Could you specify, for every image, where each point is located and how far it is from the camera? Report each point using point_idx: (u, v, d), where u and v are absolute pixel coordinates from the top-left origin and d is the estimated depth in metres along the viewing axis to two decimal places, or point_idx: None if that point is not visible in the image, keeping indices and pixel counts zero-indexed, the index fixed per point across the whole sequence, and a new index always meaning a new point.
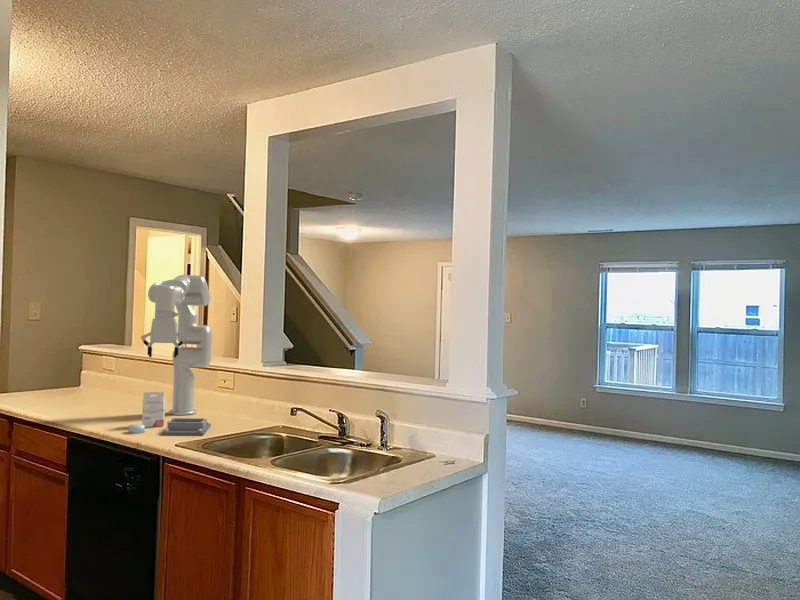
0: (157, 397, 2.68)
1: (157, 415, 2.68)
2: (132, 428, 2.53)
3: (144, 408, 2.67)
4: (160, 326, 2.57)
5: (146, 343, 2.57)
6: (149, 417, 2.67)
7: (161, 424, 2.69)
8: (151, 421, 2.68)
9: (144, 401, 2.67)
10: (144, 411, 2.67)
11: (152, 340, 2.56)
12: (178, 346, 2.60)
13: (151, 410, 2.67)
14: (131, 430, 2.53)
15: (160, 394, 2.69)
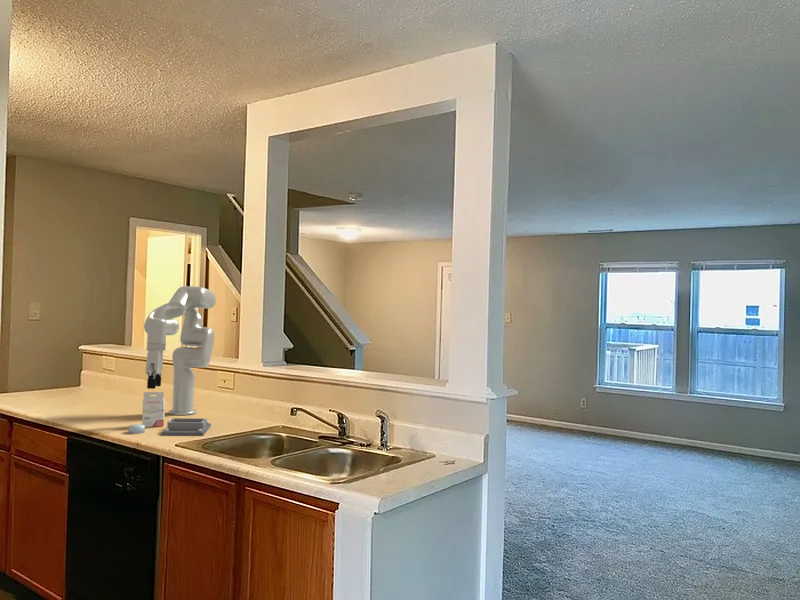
0: (157, 397, 2.69)
1: (157, 415, 2.68)
2: (132, 428, 2.53)
3: (144, 408, 2.67)
4: (160, 357, 2.69)
5: (152, 375, 2.64)
6: (149, 417, 2.67)
7: (161, 424, 2.69)
8: (151, 421, 2.68)
9: (144, 401, 2.67)
10: (144, 411, 2.67)
11: (157, 372, 2.66)
12: (160, 375, 2.76)
13: (151, 410, 2.67)
14: (131, 430, 2.53)
15: (160, 394, 2.69)
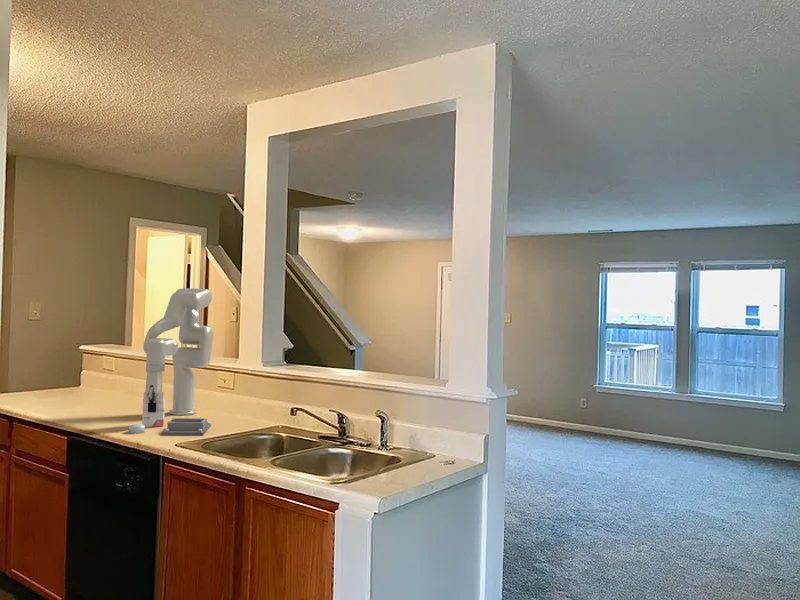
0: (157, 397, 2.68)
1: (157, 415, 2.68)
2: (132, 428, 2.53)
3: (144, 408, 2.67)
4: (160, 379, 2.69)
5: (153, 399, 2.66)
6: (149, 417, 2.67)
7: (161, 424, 2.69)
8: (151, 421, 2.68)
9: (144, 401, 2.67)
10: (144, 411, 2.67)
11: (156, 393, 2.66)
12: None
13: None
14: (131, 430, 2.53)
15: (160, 394, 2.69)
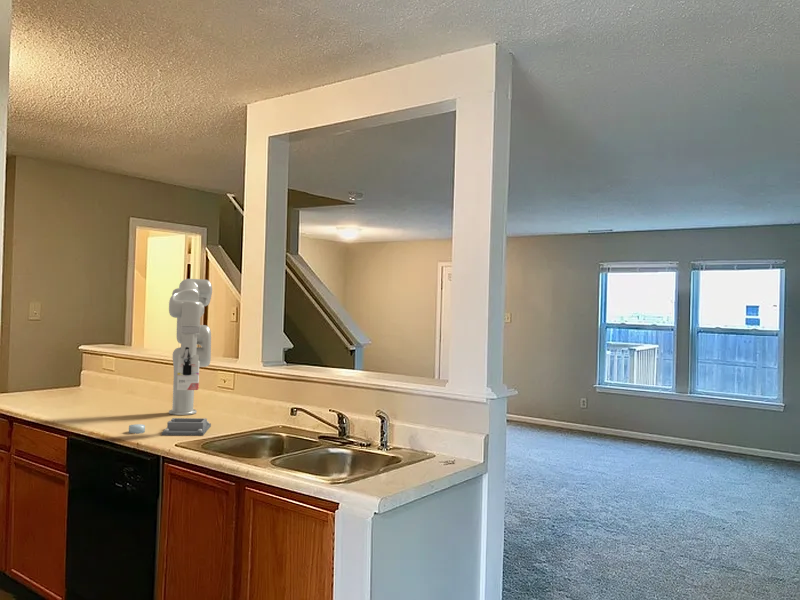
0: (192, 359, 2.61)
1: (192, 378, 2.61)
2: (132, 428, 2.53)
3: (179, 371, 2.60)
4: (195, 341, 2.62)
5: (188, 362, 2.58)
6: (184, 380, 2.60)
7: (196, 387, 2.61)
8: (186, 384, 2.60)
9: (179, 363, 2.60)
10: (179, 374, 2.60)
11: (192, 356, 2.59)
12: None
13: None
14: (131, 430, 2.53)
15: (195, 357, 2.61)
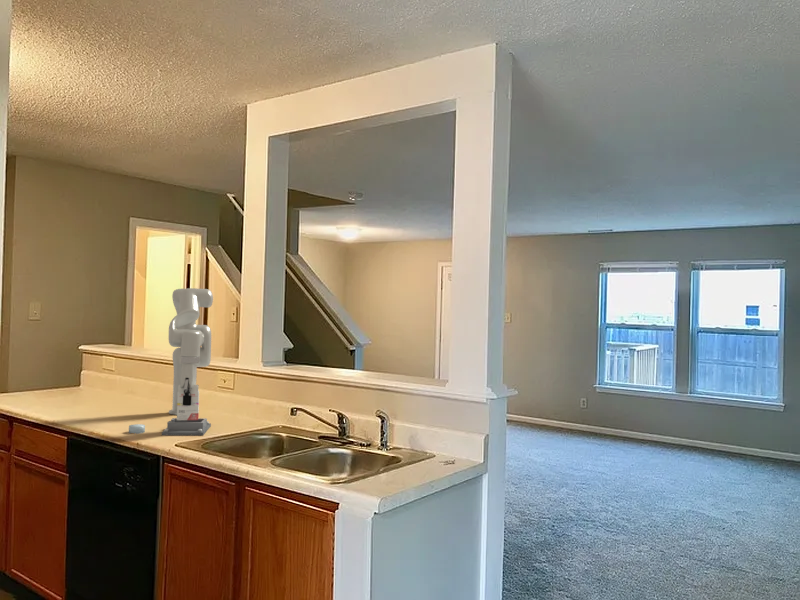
0: (192, 389, 2.61)
1: (192, 408, 2.60)
2: (132, 428, 2.53)
3: (179, 401, 2.59)
4: (195, 371, 2.62)
5: (188, 392, 2.58)
6: (184, 410, 2.60)
7: (196, 418, 2.61)
8: (186, 414, 2.60)
9: (179, 394, 2.59)
10: (179, 404, 2.59)
11: (192, 386, 2.59)
12: None
13: None
14: (131, 430, 2.53)
15: (195, 387, 2.61)
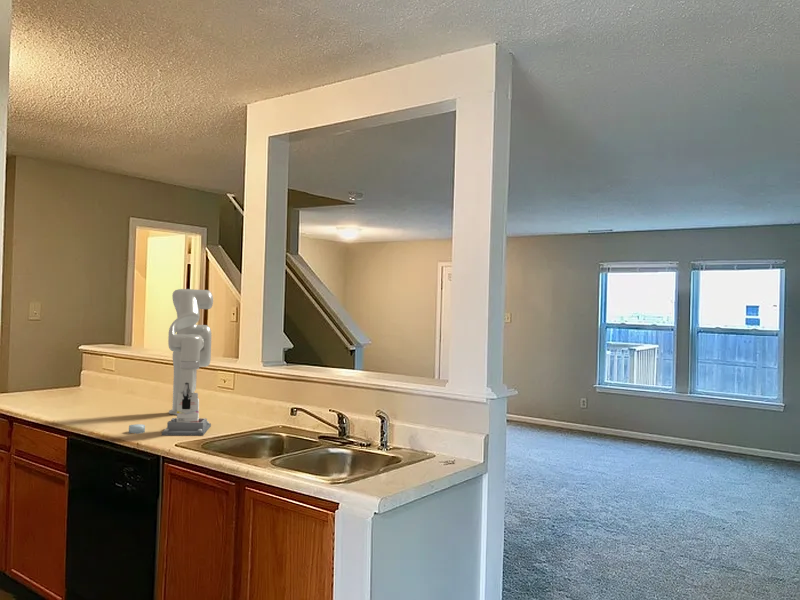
0: (191, 398, 2.61)
1: (191, 416, 2.61)
2: (132, 428, 2.53)
3: (178, 409, 2.60)
4: (195, 376, 2.62)
5: (187, 396, 2.57)
6: (183, 418, 2.60)
7: None
8: None
9: (178, 402, 2.60)
10: (178, 412, 2.60)
11: (191, 391, 2.59)
12: None
13: (185, 411, 2.61)
14: (131, 430, 2.53)
15: (194, 395, 2.62)
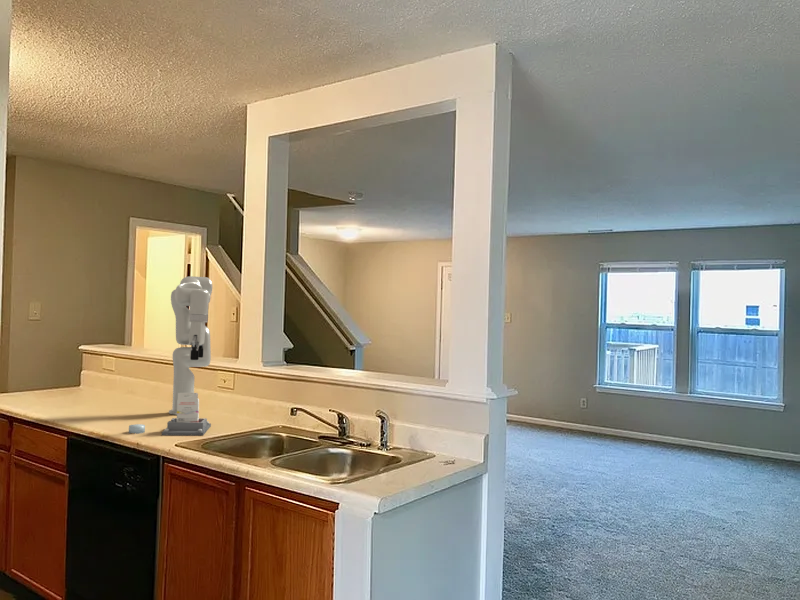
0: (191, 398, 2.61)
1: (191, 416, 2.61)
2: (132, 428, 2.53)
3: (178, 409, 2.60)
4: (203, 329, 2.68)
5: (196, 347, 2.62)
6: (183, 418, 2.60)
7: None
8: None
9: (178, 402, 2.60)
10: (178, 412, 2.60)
11: (200, 343, 2.65)
12: (202, 346, 2.75)
13: (185, 411, 2.61)
14: (131, 430, 2.53)
15: (194, 395, 2.62)
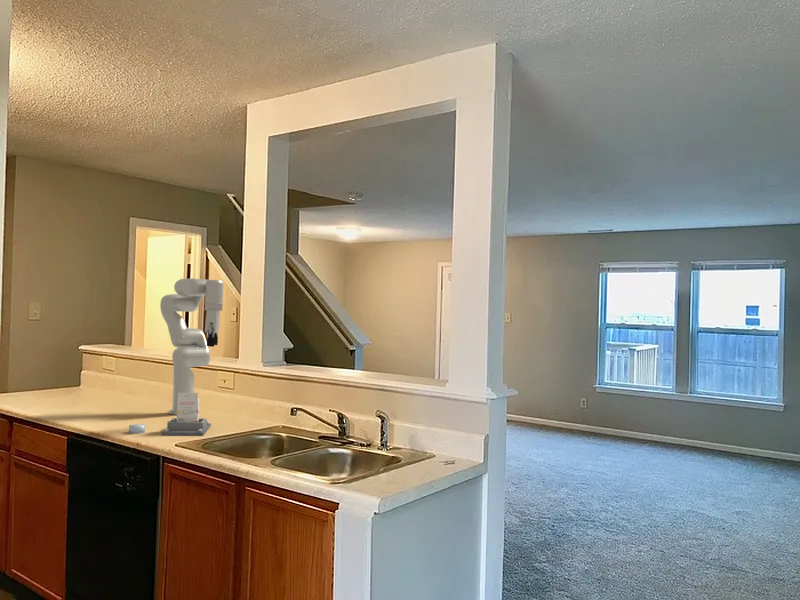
0: (191, 398, 2.61)
1: (191, 416, 2.61)
2: (132, 428, 2.53)
3: (178, 409, 2.60)
4: (218, 317, 2.81)
5: (212, 334, 2.75)
6: (183, 418, 2.60)
7: None
8: None
9: (178, 402, 2.60)
10: (178, 412, 2.60)
11: (215, 330, 2.78)
12: (217, 335, 2.88)
13: (185, 411, 2.61)
14: (131, 430, 2.53)
15: (194, 395, 2.62)
